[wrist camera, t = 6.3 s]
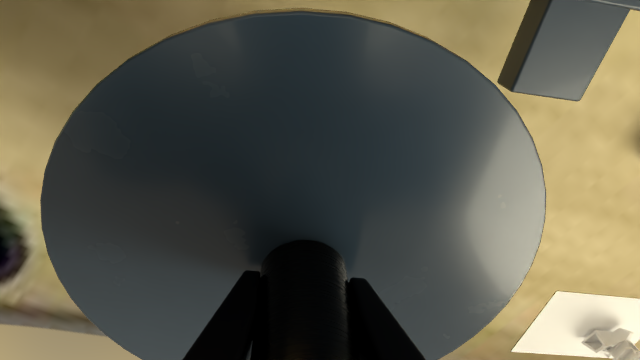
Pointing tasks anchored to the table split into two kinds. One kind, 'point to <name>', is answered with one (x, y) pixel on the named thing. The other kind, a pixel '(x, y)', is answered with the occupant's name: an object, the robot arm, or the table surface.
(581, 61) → the pot
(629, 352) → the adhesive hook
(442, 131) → the lid
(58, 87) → the table surface
